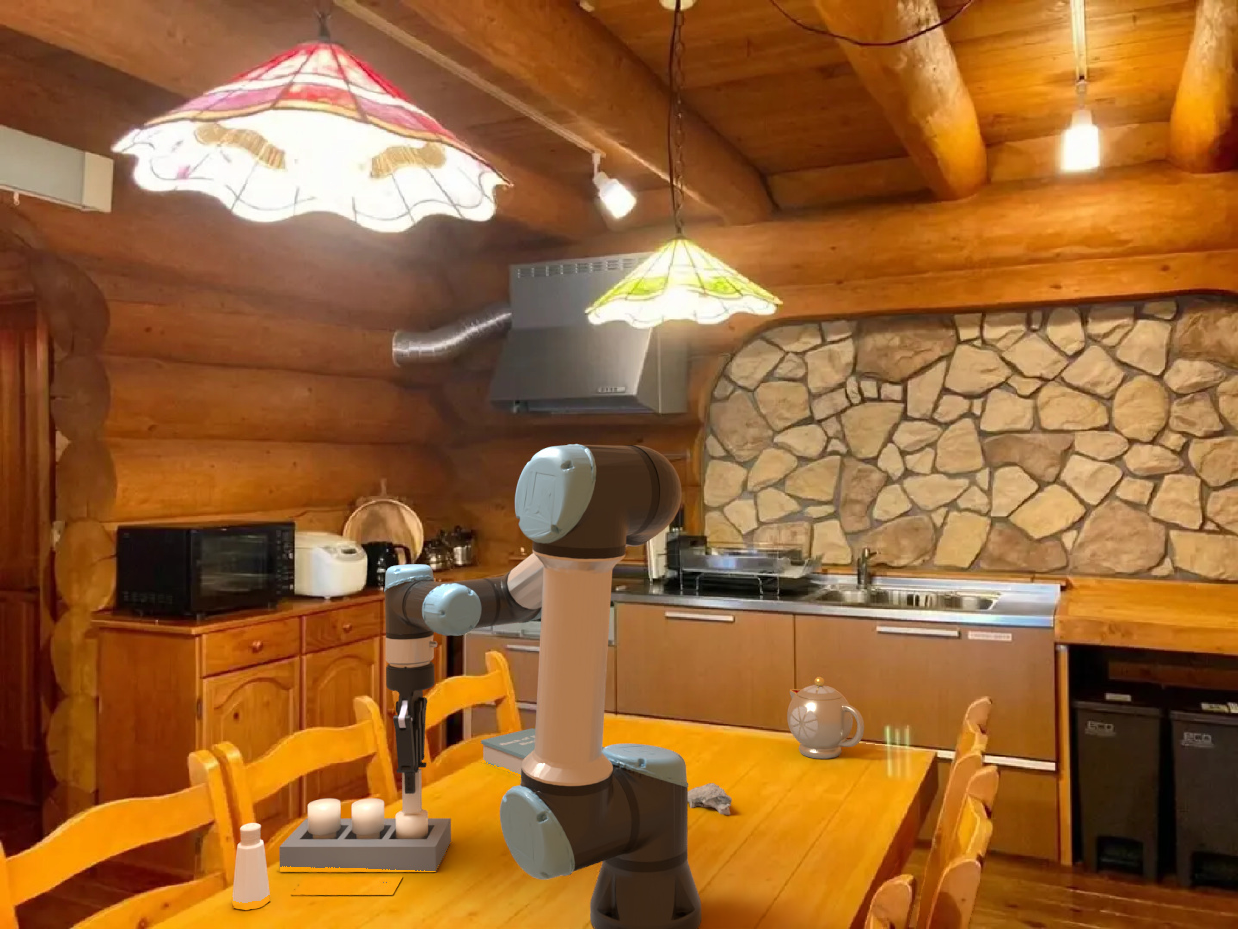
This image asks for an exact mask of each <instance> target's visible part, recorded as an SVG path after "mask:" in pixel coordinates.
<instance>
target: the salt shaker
mask: <svg viewBox="0 0 1238 929" xmlns="http://www.w3.org/2000/svg"><path fill="white" fill-rule="evenodd" d="M261 828H262V825H261V824H259V823H257V822H248V823H246V824H242V825H241V827H240V828H239V831H240V842H239V843H238V844H237V847H236V853H235V854H236V857H235V865H234V866H235V867H234V876H233V888H232V897H233V901H236V902H239V903H240V902H242V903H248V902H252V901H261V900H262V899H264V898H265V897H267V896H268V895H270V885H269V884H270V883H269V877H268V868H267V867H268V866H267V860H266V859H267V858H266V850H265V843H264V840H263V839H261ZM270 896H271V895H270Z"/></svg>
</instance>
